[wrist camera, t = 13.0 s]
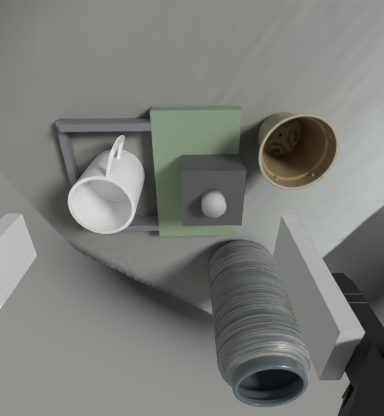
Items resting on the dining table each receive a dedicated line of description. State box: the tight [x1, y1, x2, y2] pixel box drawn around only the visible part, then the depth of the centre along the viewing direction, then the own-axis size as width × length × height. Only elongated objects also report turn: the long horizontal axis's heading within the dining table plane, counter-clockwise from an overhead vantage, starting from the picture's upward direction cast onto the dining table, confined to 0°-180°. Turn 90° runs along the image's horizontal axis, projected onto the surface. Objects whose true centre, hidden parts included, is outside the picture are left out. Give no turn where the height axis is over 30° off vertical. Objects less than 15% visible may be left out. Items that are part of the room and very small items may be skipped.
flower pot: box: [258, 112, 339, 190], centre depth 38 cm, size 9×9×9 cm
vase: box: [209, 240, 311, 407], centre depth 43 cm, size 12×12×23 cm
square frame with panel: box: [55, 106, 246, 237], centre depth 39 cm, size 20×25×10 cm
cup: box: [68, 135, 145, 234], centre depth 39 cm, size 8×12×10 cm
